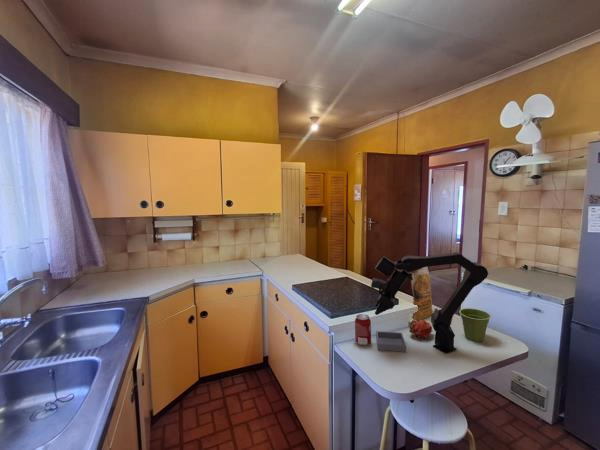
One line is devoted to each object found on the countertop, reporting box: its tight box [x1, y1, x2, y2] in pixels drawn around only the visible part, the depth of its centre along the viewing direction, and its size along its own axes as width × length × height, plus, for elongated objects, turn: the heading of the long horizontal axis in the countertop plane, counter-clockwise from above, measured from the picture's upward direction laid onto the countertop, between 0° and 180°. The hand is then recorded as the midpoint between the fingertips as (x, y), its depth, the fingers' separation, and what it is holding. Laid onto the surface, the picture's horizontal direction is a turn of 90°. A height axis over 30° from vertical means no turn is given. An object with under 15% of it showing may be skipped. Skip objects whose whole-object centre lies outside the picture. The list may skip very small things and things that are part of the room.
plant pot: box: [458, 307, 492, 343], centre depth 121 cm, size 12×12×11 cm
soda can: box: [354, 313, 372, 347], centre depth 120 cm, size 7×7×12 cm
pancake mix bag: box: [410, 267, 434, 321], centre depth 146 cm, size 7×19×28 cm, turn 123°
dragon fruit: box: [409, 319, 433, 340], centre depth 125 cm, size 8×8×12 cm
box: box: [375, 330, 407, 354], centre depth 118 cm, size 11×11×3 cm
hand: (375, 310), depth 121 cm, fingers open, 9 cm apart
